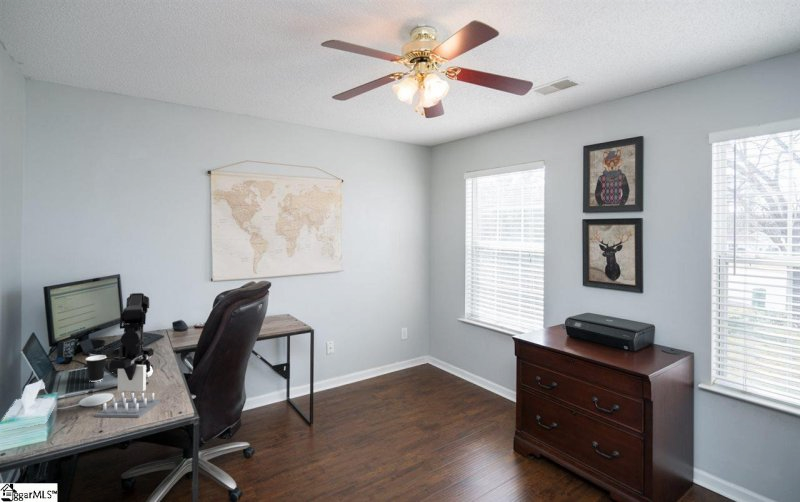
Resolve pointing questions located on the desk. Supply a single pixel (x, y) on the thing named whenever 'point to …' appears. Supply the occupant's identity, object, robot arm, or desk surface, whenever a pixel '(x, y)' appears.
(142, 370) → the white rectangular slab
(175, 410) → the desk surface
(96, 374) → the dixie cup
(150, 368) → the bust
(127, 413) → the dish rack
